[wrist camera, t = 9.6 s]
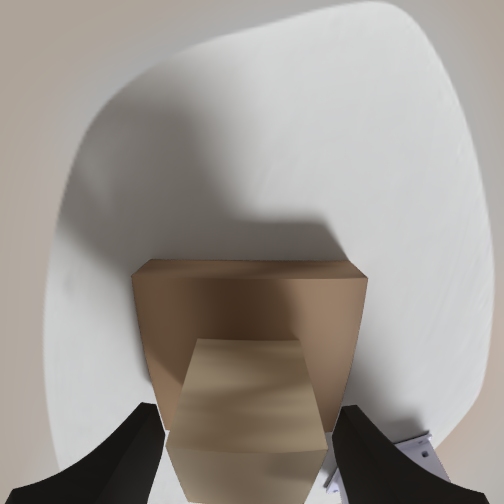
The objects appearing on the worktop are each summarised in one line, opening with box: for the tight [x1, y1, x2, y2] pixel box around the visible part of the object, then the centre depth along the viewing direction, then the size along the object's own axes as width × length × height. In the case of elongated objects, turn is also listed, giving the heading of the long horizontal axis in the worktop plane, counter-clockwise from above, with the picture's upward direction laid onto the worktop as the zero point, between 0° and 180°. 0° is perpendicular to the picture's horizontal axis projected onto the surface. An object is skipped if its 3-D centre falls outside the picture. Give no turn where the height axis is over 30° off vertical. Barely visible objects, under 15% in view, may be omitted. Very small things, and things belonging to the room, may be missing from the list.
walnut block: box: [131, 259, 368, 432], centre depth 14 cm, size 10×10×3 cm
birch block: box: [166, 338, 328, 504], centre depth 10 cm, size 4×4×6 cm
